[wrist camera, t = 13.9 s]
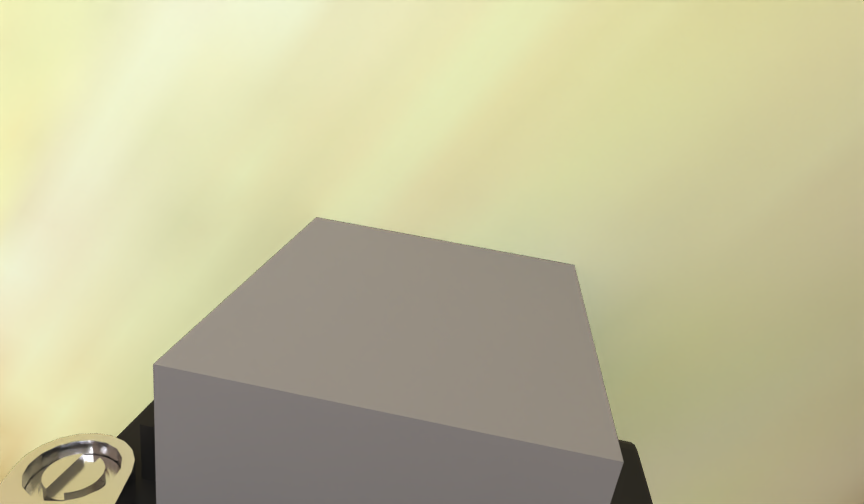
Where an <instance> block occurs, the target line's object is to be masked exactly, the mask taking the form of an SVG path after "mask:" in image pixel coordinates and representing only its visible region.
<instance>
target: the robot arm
mask: <svg viewBox="0 0 864 504" xmlns="http://www.w3.org/2000/svg"><path fill="white" fill-rule="evenodd" d="M618 441H619V445H620V449H621V453H622V457H623V461H624V463H623V466H622V469H621V472H620V475H619V478H618V481H617V484H616V487H615V490H614V493H613V496H612V499H611V503H610V504H653V503H652V500H651V496H650V493H649V489H648V486H647V482H646V479H645V476H644V472H643V469H642V465H641V462H640V458H639V455H638V451H637V449H636V447H635V445H634V444H633V443H631V442H626V441H622V440H618ZM0 504H156V469H155V423H154V400H153V401H152V402H151V403H150V404H149V405H148V406H147V407H146V408H145V409H144V410H143V411H142V412H141V413H140V414H139V415H138V416H137V417H136V418H135V419H134V420H133V421H132V422H131V423H130V424H129V425H128V426H127V427H126V428H125V429H124V430H123V431H122V432H121V433H120V434H119V435H118V436H117V437H114V436H111V435H105V434H98V433H90V434H76V435H72V436H67V437H62V438H59V439H56V440H53V441H51V442H48V443H46V444H43V445H41V446H39V447H38V448H36V449H34V450H33V451H31V452H30V453H28V454H26V455H25V456H24V457H23V458H22V459H21V460H20V461H19V462H18V463H17V464H16V465H15V466H14V467H13V468H12V469H11V471H10V472H9V473H8V475H7V476H6V477H5V478H4V480H3V481H2V482H1V484H0Z"/></svg>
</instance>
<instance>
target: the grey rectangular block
mask: <svg viewBox="0 0 864 504" xmlns="http://www.w3.org/2000/svg"><path fill="white" fill-rule="evenodd" d="M153 377H154V423H155V469H156V504H610V503H611V499H612V496H613V493H614V490H615V487H616V484H617V481H618V478H619V475H620V472H621V469H622V466H623V463H624V461H623V457H622V453H621V449H620V445H619V441H618V437H617V433H616V429H615V426H614V422H613V418H612V414H611V410H610V406H609V402H608V398H607V394H606V390H605V386H604V382H603V378H602V374H601V370H600V366H599V362H598V358H597V354H596V350H595V346H594V342H593V338H592V334H591V330H590V326H589V322H588V318H587V314H586V310H585V306H584V302H583V298H582V294H581V290H580V286H579V282H578V278H577V274H576V270H575V266H574V265H571V264H566V263H560V262H555V261H550V260H544V259H539V258H533V257H528V256H523V255H517V254H512V253H506V252H501V251H496V250H490V249H485V248H479V247H474V246H469V245H463V244H458V243H452V242H447V241H442V240H436V239H431V238H425V237H420V236H415V235H409V234H404V233H398V232H393V231H388V230H382V229H377V228H372V227H366V226H361V225H355V224H350V223H345V222H339V221H334V220H328V219H323V218H318V217H316V218H315V219H314V220H313V221H312V222H310V223H309V224H308V225H307V226H306V227H305V228H304V229H303V230H302V231H300V232H299V233H298V234H297V235H296V236H295V237H294V238H293V239H292V240H290V241H289V242H288V243H287V244H286V245H285V246H284V247H283V248H282V249H280V250H279V251H278V252H277V253H276V254H275V255H274V256H273V257H272V258H270V259H269V260H268V261H267V262H266V263H265V264H264V265H263V266H262V267H260V268H259V269H258V270H257V271H256V272H255V273H254V274H253V275H252V276H250V277H249V278H248V279H247V280H246V281H245V282H244V283H243V284H242V285H240V286H239V287H238V288H237V289H236V290H235V291H234V292H233V293H232V294H230V295H229V296H228V297H227V298H226V299H225V300H224V301H223V302H222V303H220V304H219V305H218V306H217V307H216V308H215V309H214V310H213V311H212V312H210V313H209V314H208V315H207V316H206V317H205V318H204V319H203V320H202V321H201V322H199V323H198V324H197V325H196V326H195V327H194V328H193V329H192V330H191V331H189V332H188V333H187V334H186V335H185V336H184V337H183V338H182V339H181V340H179V341H178V342H177V343H176V344H175V345H174V346H173V347H172V348H171V349H169V350H168V351H167V352H166V353H165V354H164V355H163V356H162V357H161V358H159V359H158V360H157V361H156V362H155V363H154V364H153Z"/></svg>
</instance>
